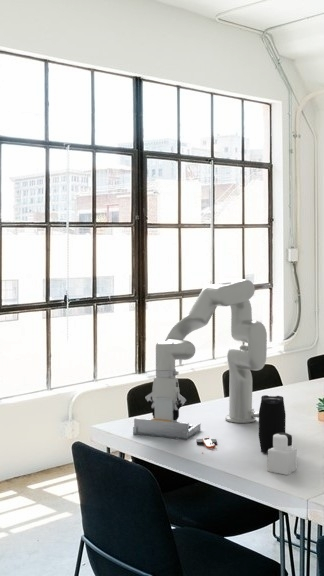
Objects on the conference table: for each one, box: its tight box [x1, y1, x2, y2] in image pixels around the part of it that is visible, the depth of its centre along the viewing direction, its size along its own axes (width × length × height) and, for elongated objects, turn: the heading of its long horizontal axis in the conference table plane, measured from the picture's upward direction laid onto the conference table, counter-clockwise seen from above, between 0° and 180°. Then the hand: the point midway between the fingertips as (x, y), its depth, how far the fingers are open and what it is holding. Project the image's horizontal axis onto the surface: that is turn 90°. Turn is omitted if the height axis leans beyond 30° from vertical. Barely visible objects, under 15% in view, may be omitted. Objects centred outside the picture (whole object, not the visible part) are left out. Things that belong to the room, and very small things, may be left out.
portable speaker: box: [258, 395, 287, 454], centre depth 249 cm, size 9×9×20 cm
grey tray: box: [132, 417, 201, 441], centre depth 276 cm, size 22×16×6 cm
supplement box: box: [155, 398, 178, 422], centre depth 274 cm, size 7×7×13 cm
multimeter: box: [195, 436, 218, 455], centre depth 254 cm, size 18×12×3 cm, turn 175°
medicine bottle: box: [267, 432, 298, 476], centre depth 228 cm, size 7×7×12 cm
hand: (165, 418), depth 274 cm, fingers closed on supplement box, 7 cm apart
